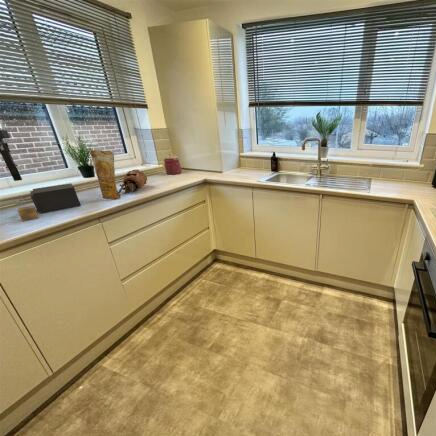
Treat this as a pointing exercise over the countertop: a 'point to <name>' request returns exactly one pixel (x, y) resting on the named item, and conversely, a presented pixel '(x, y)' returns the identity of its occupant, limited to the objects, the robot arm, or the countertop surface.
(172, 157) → the kitchen canister
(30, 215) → the block
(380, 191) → the countertop surface
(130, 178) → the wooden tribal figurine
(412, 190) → the countertop surface
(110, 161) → the pancake mix bag
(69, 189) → the dark grey slanted block
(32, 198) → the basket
